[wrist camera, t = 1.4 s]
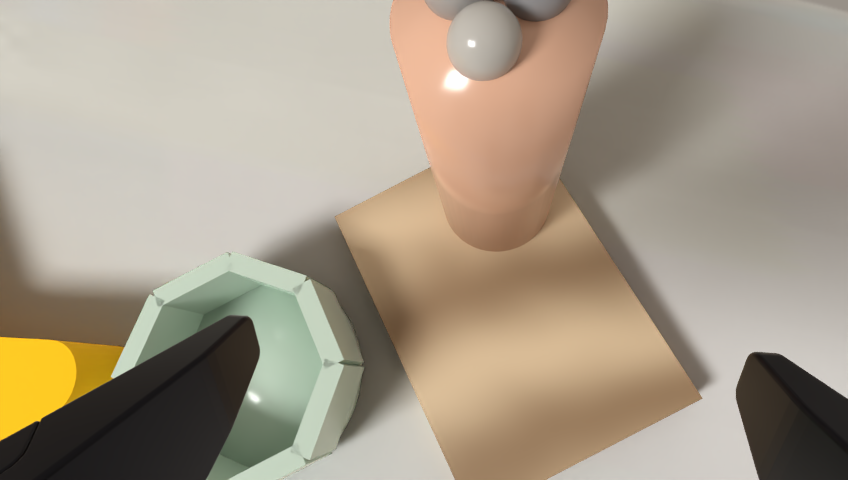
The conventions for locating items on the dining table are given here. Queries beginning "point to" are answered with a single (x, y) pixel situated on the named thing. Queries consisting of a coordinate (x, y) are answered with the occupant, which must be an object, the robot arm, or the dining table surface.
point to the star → (48, 377)
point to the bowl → (264, 360)
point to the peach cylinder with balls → (497, 103)
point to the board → (513, 335)
